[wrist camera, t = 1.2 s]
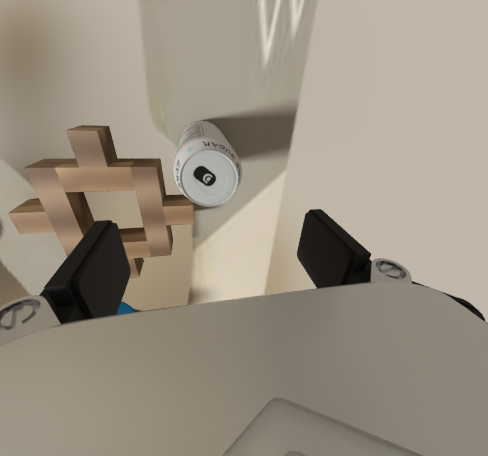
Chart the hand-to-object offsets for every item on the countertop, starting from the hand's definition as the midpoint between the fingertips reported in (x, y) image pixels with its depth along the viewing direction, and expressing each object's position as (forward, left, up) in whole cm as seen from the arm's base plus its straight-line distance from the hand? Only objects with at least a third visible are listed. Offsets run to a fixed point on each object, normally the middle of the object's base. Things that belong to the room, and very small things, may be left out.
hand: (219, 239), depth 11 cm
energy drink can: (0, 0, -23) cm, 23 cm away
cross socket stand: (+9, -13, -23) cm, 28 cm away
